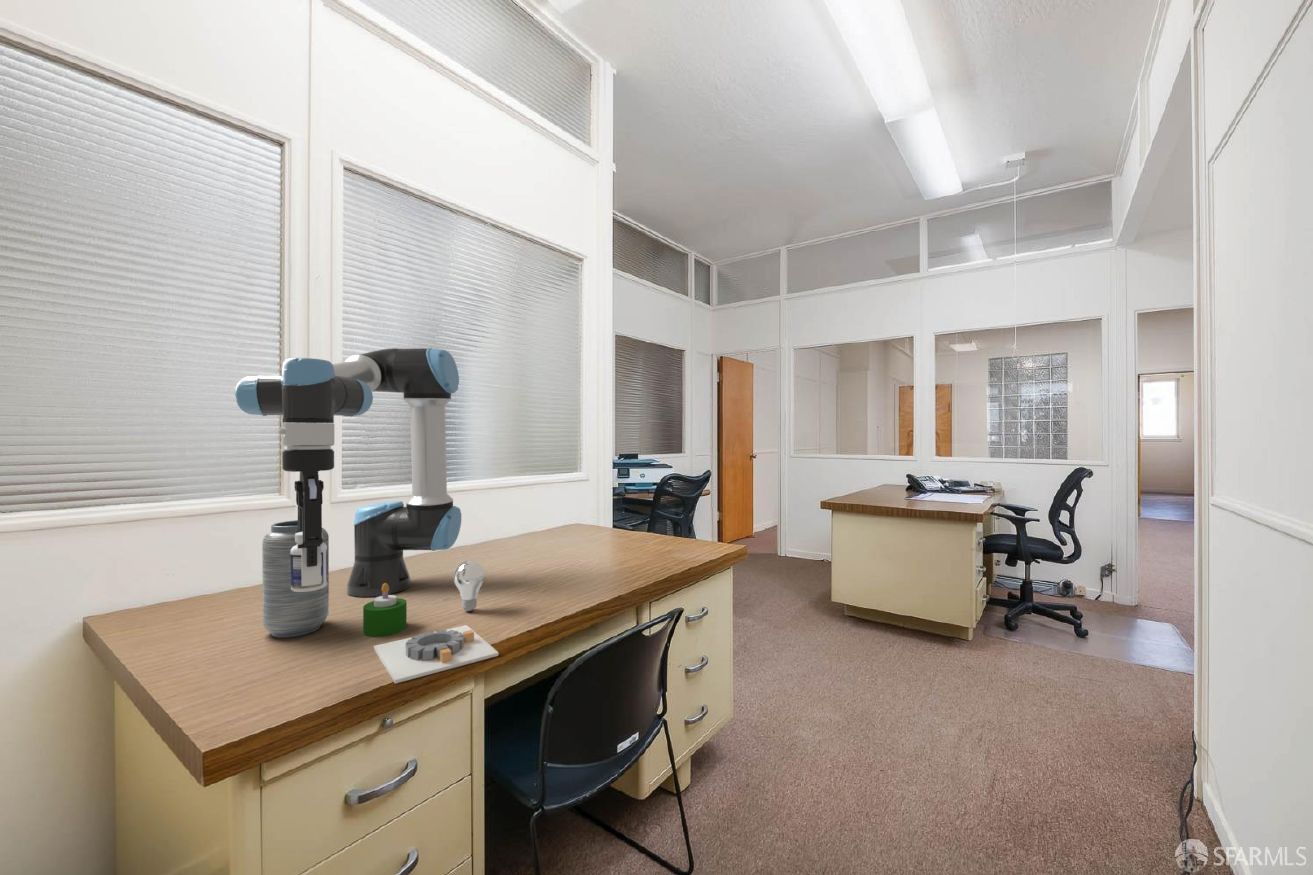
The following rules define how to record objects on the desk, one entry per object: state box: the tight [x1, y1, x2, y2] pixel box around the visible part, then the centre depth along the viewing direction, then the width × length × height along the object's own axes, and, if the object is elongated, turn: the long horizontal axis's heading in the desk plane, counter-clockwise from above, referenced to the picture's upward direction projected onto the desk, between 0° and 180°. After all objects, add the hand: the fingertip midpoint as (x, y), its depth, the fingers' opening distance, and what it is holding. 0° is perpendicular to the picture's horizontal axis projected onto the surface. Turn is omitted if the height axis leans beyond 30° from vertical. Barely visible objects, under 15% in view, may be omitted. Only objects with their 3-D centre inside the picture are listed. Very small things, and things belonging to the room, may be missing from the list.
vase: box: [261, 519, 330, 639], centre depth 111 cm, size 12×12×23 cm
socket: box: [373, 624, 500, 684], centre depth 100 cm, size 18×18×2 cm
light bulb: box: [453, 560, 486, 613], centre depth 123 cm, size 7×7×12 cm
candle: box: [362, 583, 408, 638], centre depth 112 cm, size 8×8×10 cm
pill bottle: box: [290, 532, 328, 592], centre depth 91 cm, size 5×5×10 cm
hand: (309, 580), depth 91 cm, fingers closed on pill bottle, 5 cm apart
